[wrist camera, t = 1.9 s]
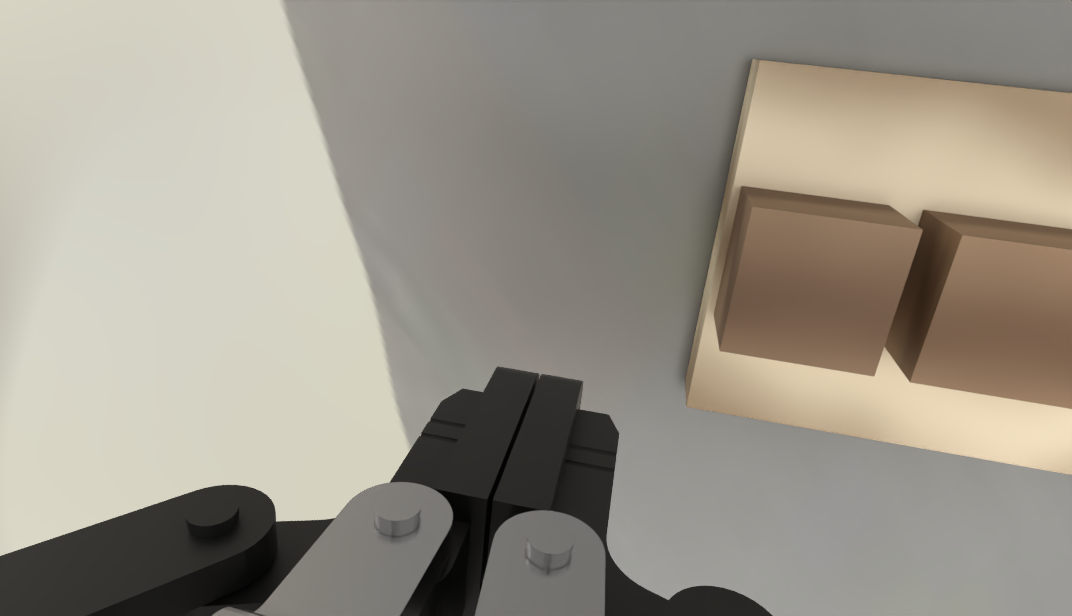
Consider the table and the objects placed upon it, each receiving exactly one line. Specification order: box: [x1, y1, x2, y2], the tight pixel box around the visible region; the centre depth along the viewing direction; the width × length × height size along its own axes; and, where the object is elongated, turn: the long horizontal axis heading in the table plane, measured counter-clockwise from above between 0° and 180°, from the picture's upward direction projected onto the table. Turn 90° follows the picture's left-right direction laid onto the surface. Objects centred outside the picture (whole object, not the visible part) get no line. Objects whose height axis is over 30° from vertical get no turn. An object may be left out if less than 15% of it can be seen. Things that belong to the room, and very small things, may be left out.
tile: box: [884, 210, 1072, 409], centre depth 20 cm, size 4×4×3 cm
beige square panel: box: [685, 59, 1072, 475], centre depth 22 cm, size 12×14×2 cm
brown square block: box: [714, 186, 923, 376], centre depth 20 cm, size 4×4×3 cm
